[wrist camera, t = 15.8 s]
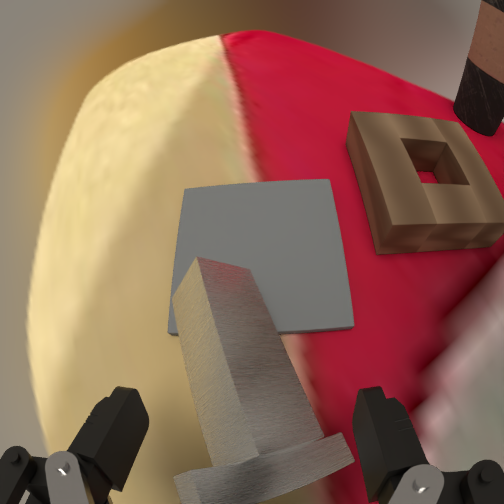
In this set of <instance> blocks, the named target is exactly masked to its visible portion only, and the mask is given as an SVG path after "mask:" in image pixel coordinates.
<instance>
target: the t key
mask: <svg viewBox="0 0 504 504" xmlns="http://www.w3.org/2000/svg"><path fill="white" fill-rule="evenodd" d="M172 303H173V308H174V314H175V319H176V324H177V329H178V334H179V339H180V344H181V349H182V353H183V358H184V362H185V367H186V371H187V375H188V380H189V384H190V388H191V392H192V396H193V400H194V403H195V407H196V411H197V415H198V418H199V422H200V425H201V429H202V432H203V436H204V439H205V443H206V446H207V449H208V452H209V456H210V459H211V462H212V465H213V467H210V468H203V469H195V470H189V471H187V472H184V473H182V474H179V475H176V476H173V478H174V481H175V485H176V488H177V491H178V494H179V498H180V501H181V504H256V503H259V502H262V501H265V500H268V499H271V498H274V497H277V496H280V495H282V494H285V493H288V492H290V491H293V490H295V489H298V488H300V487H303V486H305V485H307V484H310V483H312V482H314V481H316V480H319V479H321V478H323V477H325V476H327V475H329V474H331V473H333V472H335V471H337V470H339V469H341V468H343V467H345V466H347V465H349V464H351V463H353V462H355V460H354V458H353V456H352V454H351V451H350V449H349V447H348V445H347V443H346V441H345V439H344V437H343V435H342V432H340V433H338V434H335V435H332V436H330V437H327V438H324V439H321V440H318V439H320V438H322V437H324V434H323V432H322V430H321V427H320V425H319V423H318V421H317V419H316V416H315V414H314V412H313V410H312V408H311V405H310V403H309V401H308V399H307V397H306V394H305V392H304V390H303V388H302V385H301V383H300V381H299V379H298V376H297V374H296V372H295V370H294V368H293V365H292V363H291V361H290V359H289V356H288V354H287V352H286V350H285V347H284V345H283V343H282V341H281V338H280V336H279V334H278V332H277V329H276V327H275V325H274V323H273V320H272V318H271V316H270V314H269V311H268V309H267V307H266V305H265V302H264V300H263V298H262V295H261V293H260V291H259V289H258V286H257V284H256V282H255V280H254V277H253V275H252V273H251V270H250V269H247V268H243V267H239V266H235V265H230V264H226V263H222V262H218V261H214V260H210V259H206V258H201V257H197V256H196V258H195V259H194V261H193V263H192V265H191V266H190V268H189V270H188V271H187V273H186V275H185V276H184V278H183V280H182V282H181V283H180V285H179V287H178V289H177V290H176V292H175V294H174V296H173V297H172ZM316 440H318V441H316ZM314 441H315V442H314Z"/></svg>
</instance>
